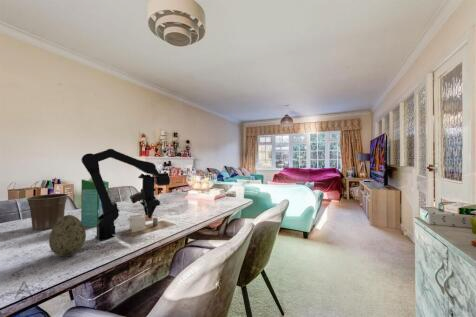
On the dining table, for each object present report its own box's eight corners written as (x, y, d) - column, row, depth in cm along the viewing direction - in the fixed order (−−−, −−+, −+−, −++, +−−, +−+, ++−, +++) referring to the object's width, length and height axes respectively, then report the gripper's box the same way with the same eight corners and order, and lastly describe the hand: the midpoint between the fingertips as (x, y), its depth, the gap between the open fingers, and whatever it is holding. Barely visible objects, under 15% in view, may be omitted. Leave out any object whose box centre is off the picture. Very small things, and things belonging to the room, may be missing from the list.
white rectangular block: (129, 232, 101) (129, 219, 101) (126, 229, 106) (126, 216, 106) (153, 228, 108) (153, 215, 108) (150, 225, 113) (150, 213, 113)
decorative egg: (50, 253, 81) (50, 214, 81) (84, 246, 88) (85, 210, 88) (47, 265, 73) (48, 221, 72) (86, 256, 79) (86, 216, 79)
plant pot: (16, 232, 103) (16, 199, 103) (43, 222, 119) (44, 193, 119) (52, 231, 105) (52, 198, 105) (74, 221, 121) (74, 193, 121)
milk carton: (97, 226, 113) (98, 179, 113) (80, 226, 113) (81, 179, 113) (108, 221, 122) (108, 177, 122) (92, 221, 122) (93, 177, 122)
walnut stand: (133, 239, 96) (133, 228, 96) (121, 233, 103) (121, 222, 103) (176, 226, 115) (176, 217, 115) (162, 222, 122) (163, 213, 122)
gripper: (127, 185, 112) (127, 215, 112) (135, 190, 97) (135, 224, 97) (149, 184, 118) (149, 212, 118) (160, 188, 104) (160, 220, 104)
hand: (148, 217), depth 109 cm, fingers open, 4 cm apart
